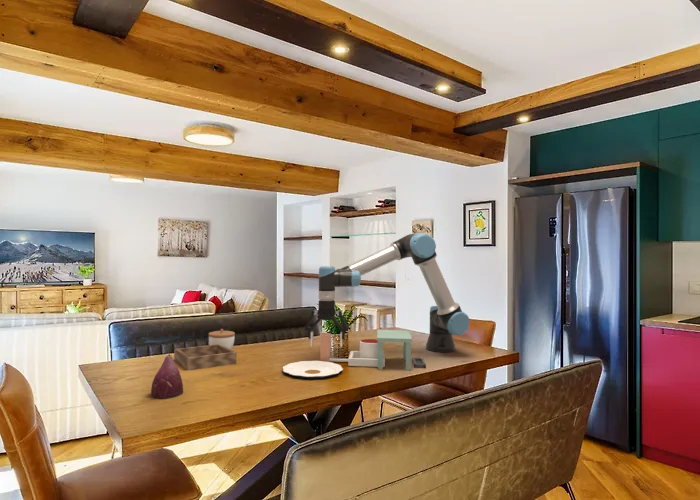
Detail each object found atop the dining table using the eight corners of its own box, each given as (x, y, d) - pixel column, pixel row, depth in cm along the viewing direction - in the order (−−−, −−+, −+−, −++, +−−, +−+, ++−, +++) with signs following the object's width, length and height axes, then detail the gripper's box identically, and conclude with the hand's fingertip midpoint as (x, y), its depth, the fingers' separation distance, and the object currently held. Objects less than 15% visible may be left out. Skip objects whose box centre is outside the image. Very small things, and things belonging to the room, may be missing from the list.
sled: (318, 364, 201) (319, 337, 201) (323, 356, 217) (323, 331, 217) (384, 366, 199) (385, 339, 199) (384, 358, 215) (384, 332, 215)
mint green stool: (376, 369, 197) (377, 337, 197) (376, 357, 218) (377, 329, 218) (411, 370, 196) (412, 339, 196) (408, 358, 217) (409, 330, 217)
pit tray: (414, 367, 201) (414, 364, 201) (412, 361, 213) (412, 357, 213) (425, 368, 200) (425, 364, 200) (423, 361, 212) (423, 358, 212)
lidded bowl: (239, 350, 228) (240, 328, 228) (220, 355, 218) (220, 332, 218) (222, 347, 235) (222, 326, 235) (202, 351, 225) (203, 329, 225)
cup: (378, 366, 202) (379, 343, 202) (357, 364, 205) (357, 342, 205) (383, 361, 212) (383, 339, 212) (362, 359, 214) (362, 338, 214)
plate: (350, 368, 199) (350, 363, 199) (329, 383, 175) (329, 378, 175) (298, 362, 207) (298, 358, 207) (271, 376, 183) (271, 372, 183)
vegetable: (157, 399, 163) (156, 356, 166) (187, 395, 163) (185, 352, 167) (146, 401, 152) (145, 355, 156) (177, 397, 153) (176, 351, 157)
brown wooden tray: (219, 354, 219) (219, 344, 219) (236, 363, 202) (236, 352, 202) (174, 360, 207) (174, 349, 207) (188, 370, 190) (188, 358, 190)
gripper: (298, 300, 207) (298, 347, 207) (353, 301, 205) (353, 348, 205) (301, 298, 214) (301, 343, 214) (354, 299, 212) (354, 344, 213)
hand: (326, 346), depth 210 cm, fingers open, 13 cm apart
